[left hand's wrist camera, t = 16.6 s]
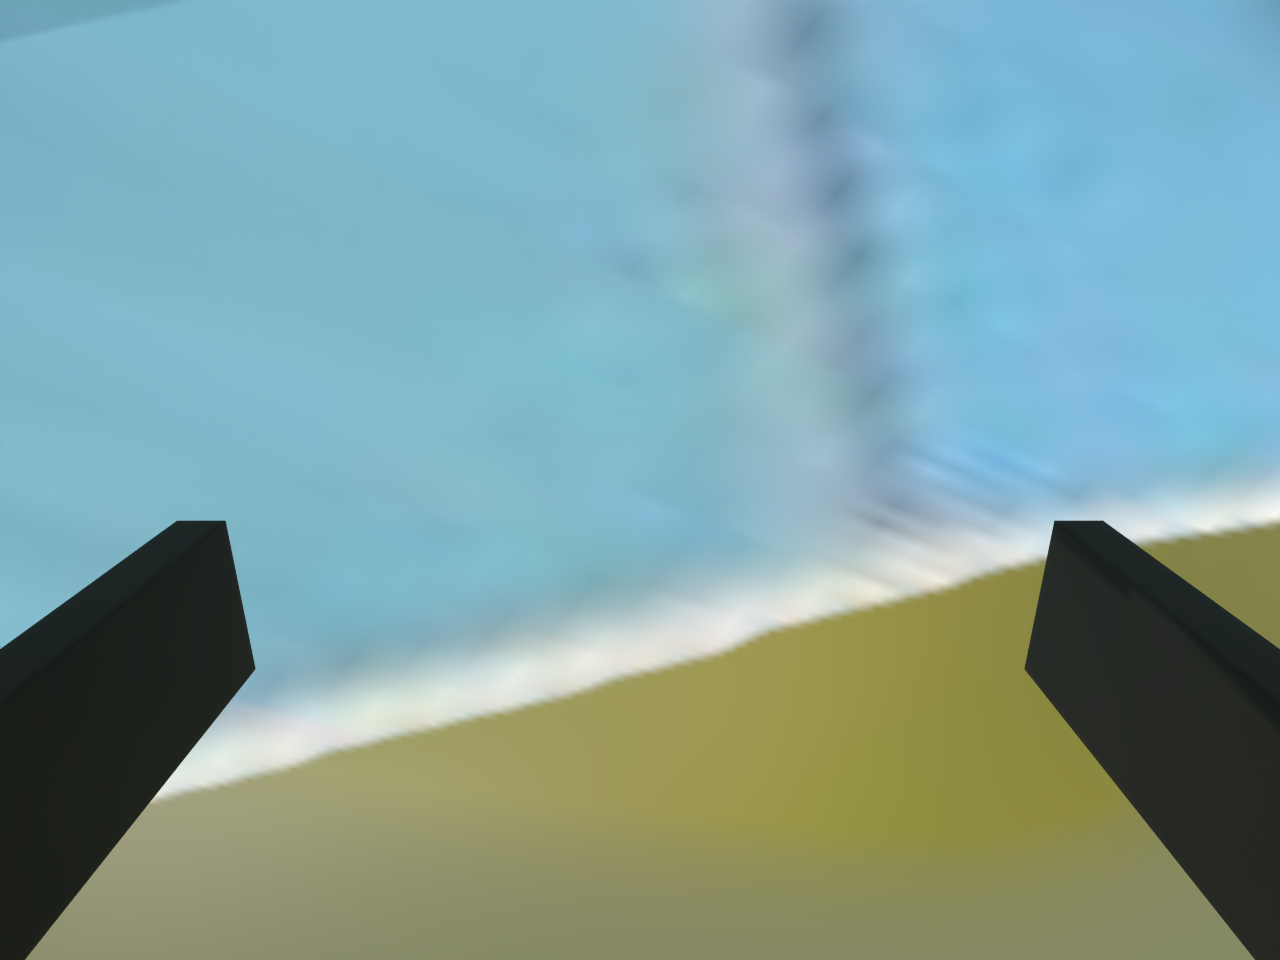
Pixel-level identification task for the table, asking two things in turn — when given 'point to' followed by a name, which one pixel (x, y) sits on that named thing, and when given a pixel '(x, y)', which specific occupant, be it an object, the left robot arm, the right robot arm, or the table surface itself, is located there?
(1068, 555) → the left robot arm
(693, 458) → the table surface
